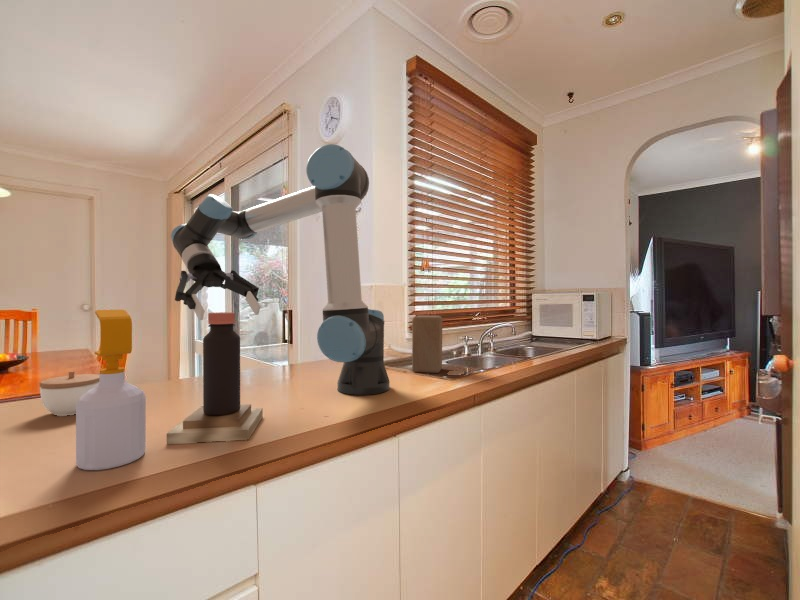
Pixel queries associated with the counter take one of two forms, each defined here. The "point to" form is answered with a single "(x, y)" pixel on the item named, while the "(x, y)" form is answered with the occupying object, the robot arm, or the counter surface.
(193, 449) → the counter surface
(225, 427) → the base
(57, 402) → the lidded jar
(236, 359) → the vinegar
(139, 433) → the soap bottle
